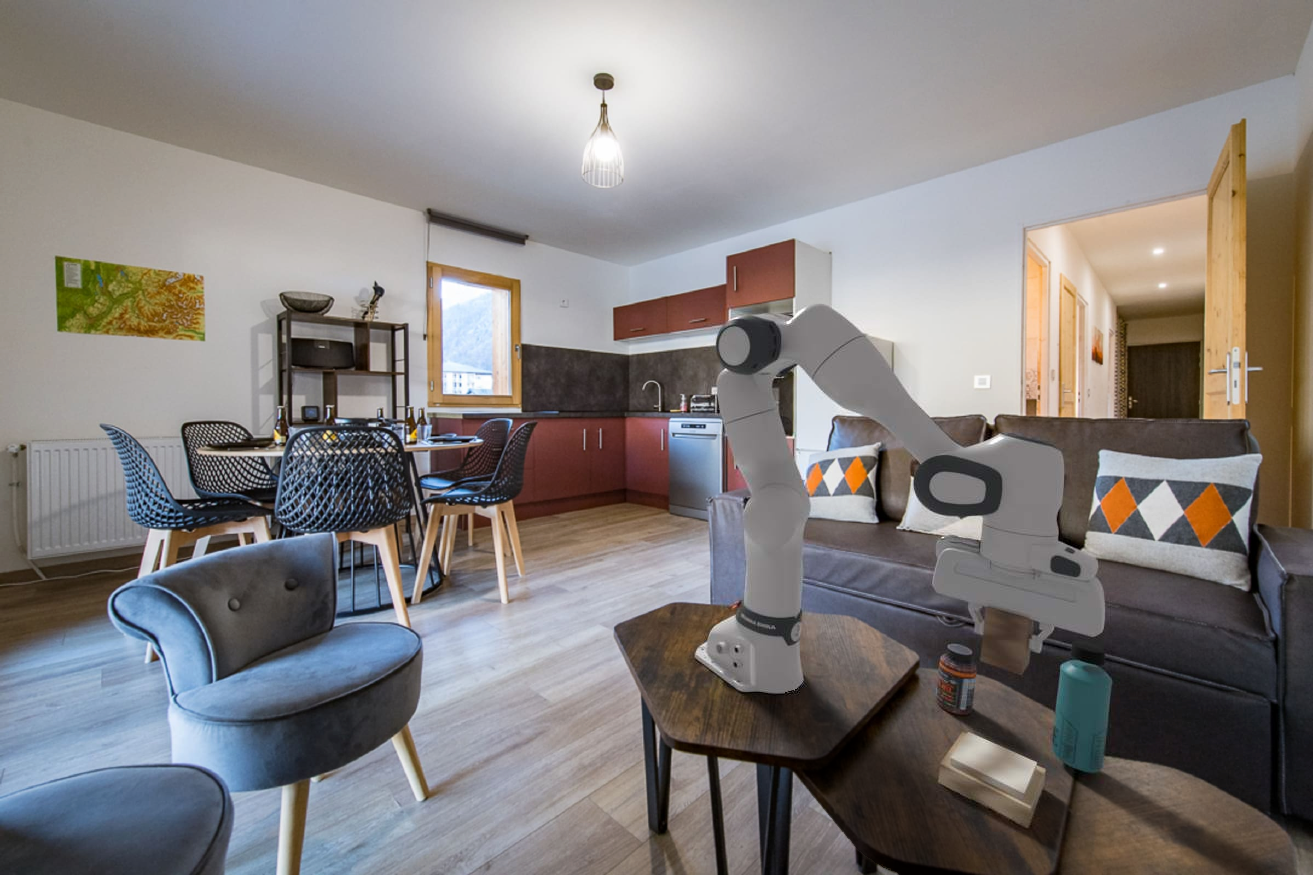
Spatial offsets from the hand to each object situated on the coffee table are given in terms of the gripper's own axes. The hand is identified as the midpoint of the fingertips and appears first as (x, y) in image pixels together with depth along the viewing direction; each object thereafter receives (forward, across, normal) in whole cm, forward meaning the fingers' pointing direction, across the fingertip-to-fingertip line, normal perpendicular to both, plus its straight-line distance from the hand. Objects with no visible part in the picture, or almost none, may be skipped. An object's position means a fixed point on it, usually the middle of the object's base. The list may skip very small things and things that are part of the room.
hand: (1006, 641), depth 74 cm
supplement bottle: (+22, -10, +18) cm, 30 cm away
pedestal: (+22, 0, 0) cm, 22 cm away
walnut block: (+3, 0, 0) cm, 3 cm away
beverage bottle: (+22, +8, +15) cm, 28 cm away
